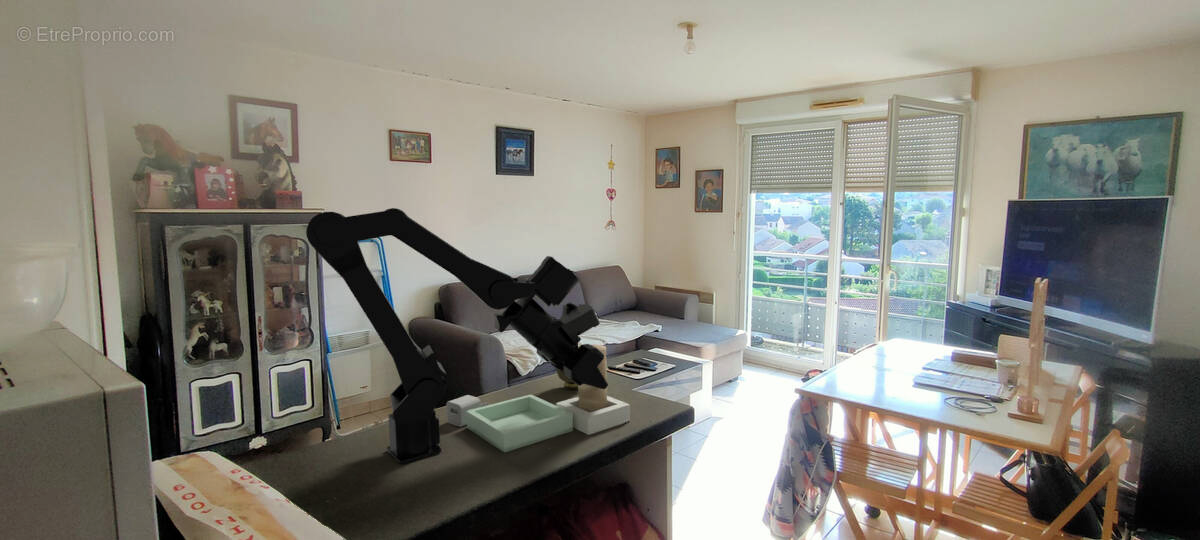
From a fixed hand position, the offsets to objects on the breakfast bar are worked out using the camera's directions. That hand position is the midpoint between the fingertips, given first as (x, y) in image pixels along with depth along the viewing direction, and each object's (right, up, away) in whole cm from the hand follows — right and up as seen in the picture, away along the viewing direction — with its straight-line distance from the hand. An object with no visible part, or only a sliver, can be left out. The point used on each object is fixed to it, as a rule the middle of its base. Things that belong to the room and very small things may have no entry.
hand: (599, 382), depth 98 cm
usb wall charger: (-23, -7, +2) cm, 24 cm away
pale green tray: (-14, -7, -4) cm, 16 cm away
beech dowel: (-1, -7, 0) cm, 7 cm away
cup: (-6, -5, +18) cm, 20 cm away
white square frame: (-1, -7, 0) cm, 7 cm away
